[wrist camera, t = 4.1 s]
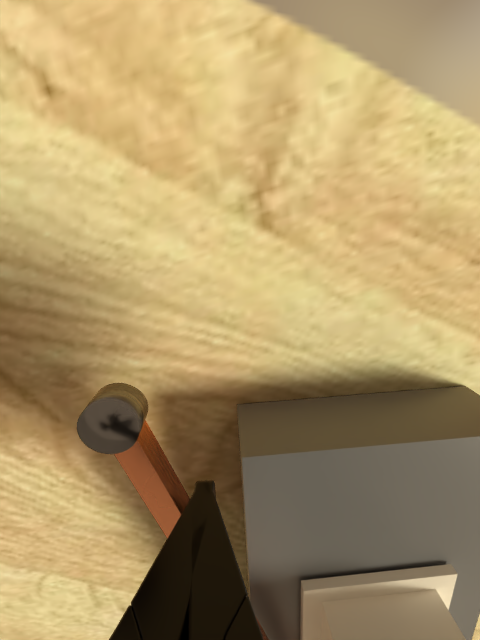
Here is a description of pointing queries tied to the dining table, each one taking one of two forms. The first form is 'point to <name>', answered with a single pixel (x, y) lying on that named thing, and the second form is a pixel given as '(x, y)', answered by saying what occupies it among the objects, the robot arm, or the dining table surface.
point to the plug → (380, 606)
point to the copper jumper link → (135, 451)
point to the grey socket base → (359, 494)
